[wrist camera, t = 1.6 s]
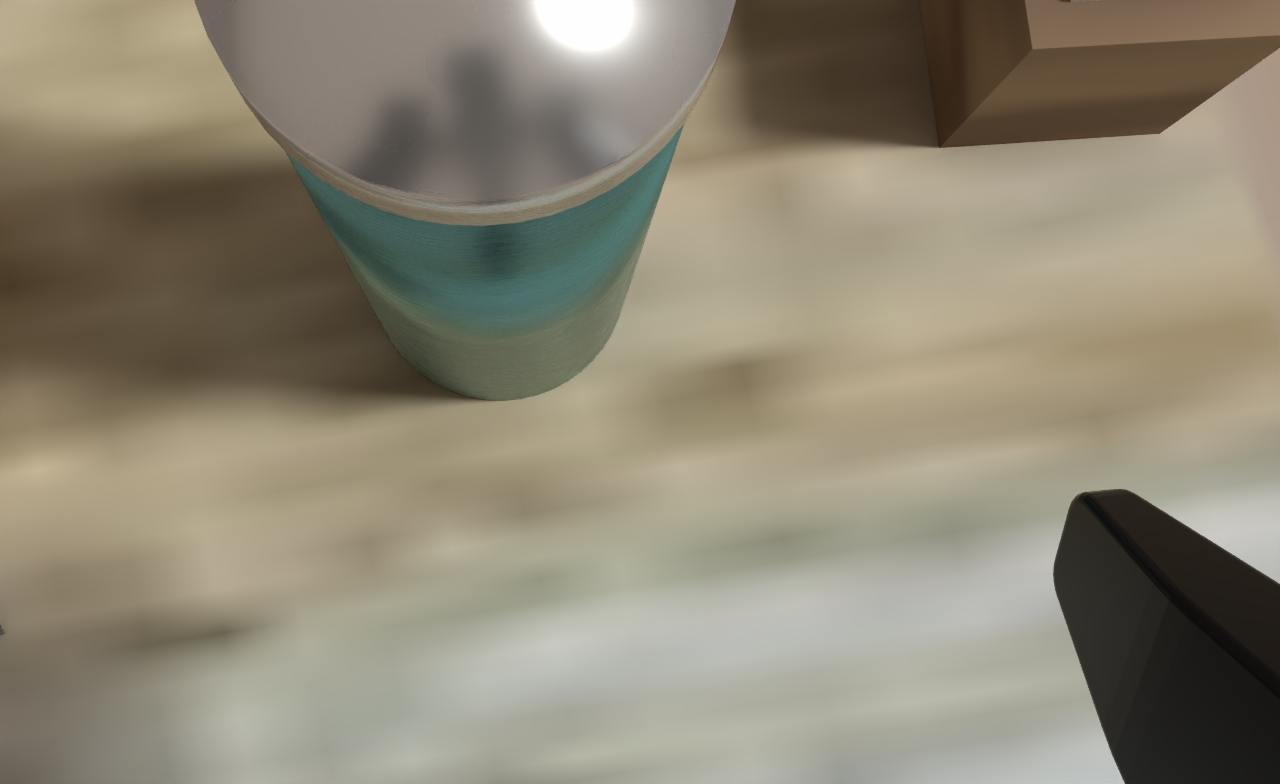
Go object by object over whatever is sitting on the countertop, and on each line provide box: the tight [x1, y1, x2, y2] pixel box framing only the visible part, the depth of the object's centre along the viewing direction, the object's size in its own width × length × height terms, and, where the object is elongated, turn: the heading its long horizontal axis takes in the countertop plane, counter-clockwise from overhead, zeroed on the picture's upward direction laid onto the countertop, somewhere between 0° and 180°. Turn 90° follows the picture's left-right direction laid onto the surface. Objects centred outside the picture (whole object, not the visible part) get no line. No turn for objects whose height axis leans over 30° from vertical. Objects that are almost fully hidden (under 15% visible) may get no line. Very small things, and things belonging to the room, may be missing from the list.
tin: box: [195, 0, 736, 400], centre depth 17 cm, size 5×5×12 cm
